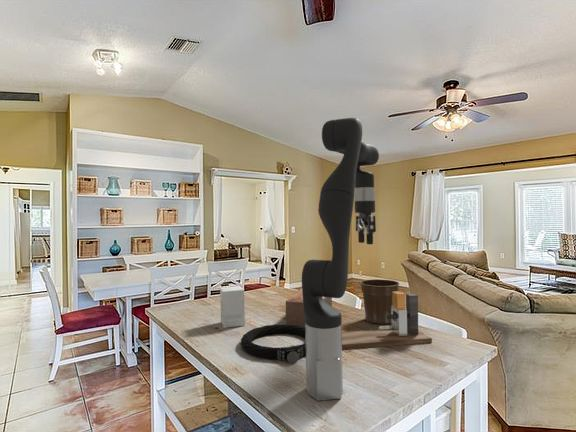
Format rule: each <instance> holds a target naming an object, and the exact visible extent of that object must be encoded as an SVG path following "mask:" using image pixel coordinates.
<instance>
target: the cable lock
mask: <svg viewBox="0 0 576 432" xmlns="http://www.w3.org/2000/svg"><path fill="white" fill-rule="evenodd" d="M283 334H284V335H285V334H287V335H293V336H299V337H302V338H304V339H306V337H305V335H306V333H305V326H296V325H286V324H285V323H284V324H280V323H279V324H267V325H264V326H260V327H256V328H253V329H250V330H249V331H247V332H246V333H244V334H243V335H242V337H241V339H240V346H241V349H243V350H244V352H246V353H247V354H249V355H251V356H253V357H255V358H256V357H257V358H261V359H266V360H278V361H280V362H281V361H285V360H286V363H289V364H295V363H297V362H298V361H299V359H301V358H303V357H304V356H306V342H304V343H302V344H297V345H293V346H285V347H283V346H281V347H271V346H264V345H259V344H256V343H254V342H253V341H255V340H256V339H258V338H261V337H264V336H270V335H283Z"/></svg>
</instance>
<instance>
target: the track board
mask: <svg viewBox="0 0 576 432" xmlns="http://www.w3.org/2000/svg"><path fill="white" fill-rule="evenodd" d="M418 296H419V295H418V294H416V293H405V309H406V310H407V336H398V335H397V334H395V333H394V332H393V331H392V330H385V331H380V330H379V329H372V330H371V329H369V330H354V331H342V350H348V349H360V348H361V349H364V348H374V347H375V348H376V347H388V346H389V347H390V346H391V347H392V346H404V345H416V344H417V345H419V344H429V343H432V342H433V338H432V337H431V336H429V335H427V334H426V333H424V332H422V331H421V330H419V297H418ZM386 317H387V319H397V314H388V315H386Z"/></svg>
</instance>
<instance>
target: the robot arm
mask: <svg viewBox="0 0 576 432" xmlns="http://www.w3.org/2000/svg"><path fill="white" fill-rule="evenodd" d="M362 124H363V123H362V121H361V120H360V119H358V118H357V117H347V118H338V119H336V118H335V119H330V120H328V121H325V122H324V124H323V125H322V128H321V140H322V144H323V146H324V148H325V150H327V151H329V152H333V153H334V152H335V153H339V154H341V155H343V156H342V159H340V162H339V164H338V165H337V167H336V168H334V170H333V171H332V172H331V174H330V175H329V176H328V177H327V179H326V180H325V182H324V183H323V184H322V187H321V188H320V194H319V200H318V201H319V202H318V211H317V212H318V215H319V218H320V221H321V222H322V224H323V226H324V229H325V230H326V233H327V234H328V236H329V239H330V242H331V248H332V249H331V250H332V255H331V259H329V260H328V259H309V260H307V261H306V262H305V263H304V265H303V267H302V272H301V289H302V294H303V310H304V315H305V326H304V327H305V333H306V335H305V337H306V338H305V337H304V338H305V343H306V355H305V377H306V378H305V380H306V381H305V382H306V384H305V385H306V388H305V389H306V393H307V394H308V395H309V396H310V397H312V398H314V399H315V401H328V400H338V399H342V395H343V393H344V391H343V390H344V388H343V386H344V385H343V383H344V382H343V381H344V380H343V379H344V377H343V349H342V332H343V331H342V330H343V329H342V327H343V325H342V324H343V321H342V312H340V310H338V309H337V308H335V307H333V306H332V307H331V306H330V305H328V304H327V303H326V302H325V301H324V300H323V298H322V297H329V298H332V299H341V298H342V297H343V296H344V295H345V293H346V290H347V286H348V277H349V276H348V275H349V255H350V254H349V253H350V251H349V248H350V247H349V246H350V236H351V235H350V234H351V225H352V216H353V211H354V213H355V214H358V215H355V232H356V233H357V234H358V235H357V236H358V237H357V238H358V241H357V242H358V243H359V244H360V243H361V244H363V243H365V241H366V244H367V245H373V244H374V233H376V232H377V228H376V227H377V226H376V215H372V214H373V213H376V194H375V193H376V192H375V176H374V175H375V174H374V173H373V172H371V171H365V170H362V168H361V167H364V166H365V167H367V166H368V167H369V166H374V165H376V164H377V163H378V161H379V157H380V153H379V150H378V148H377V146H375V145H373V144H369V143H365V142H364V140H363V125H362ZM365 232H366V233H365ZM365 235H366V238H365ZM365 239H366V240H365Z"/></svg>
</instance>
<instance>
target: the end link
mask: <svg viewBox="0 0 576 432" xmlns="http://www.w3.org/2000/svg"><path fill="white" fill-rule="evenodd" d="M391 314H397V319H392V323H391V324H390V325H379V326H378V329H377V330H380V331H385V330H392V331H393V332H394V333H395V334H397V335H398V336H407V310H406V293H404V292H403V291H399V290H398V291H395V292H392V306H391Z"/></svg>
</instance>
